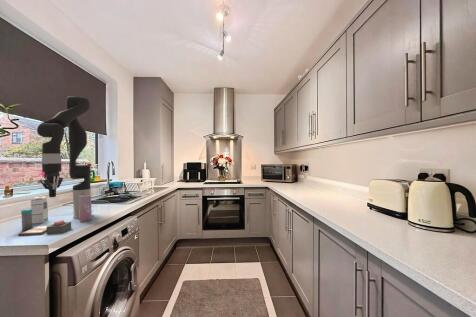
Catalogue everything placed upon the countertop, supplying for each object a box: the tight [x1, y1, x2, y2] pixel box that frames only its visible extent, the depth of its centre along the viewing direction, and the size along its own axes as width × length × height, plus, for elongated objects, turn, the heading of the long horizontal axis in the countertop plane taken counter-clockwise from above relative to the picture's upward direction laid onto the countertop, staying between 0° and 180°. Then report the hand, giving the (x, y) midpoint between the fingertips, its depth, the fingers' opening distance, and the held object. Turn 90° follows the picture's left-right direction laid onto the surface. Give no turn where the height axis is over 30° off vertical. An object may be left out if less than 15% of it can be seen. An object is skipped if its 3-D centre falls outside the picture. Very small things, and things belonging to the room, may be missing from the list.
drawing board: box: [17, 225, 48, 237], centre depth 111 cm, size 12×10×1 cm
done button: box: [53, 220, 65, 226], centre depth 111 cm, size 4×4×2 cm
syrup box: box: [30, 196, 49, 224], centre depth 129 cm, size 6×6×14 cm
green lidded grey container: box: [20, 208, 34, 232], centre depth 114 cm, size 4×4×10 cm
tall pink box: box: [78, 195, 93, 223], centre depth 129 cm, size 6×6×15 cm
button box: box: [46, 221, 72, 235], centre depth 111 cm, size 7×7×4 cm
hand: (52, 197), depth 111 cm, fingers closed
